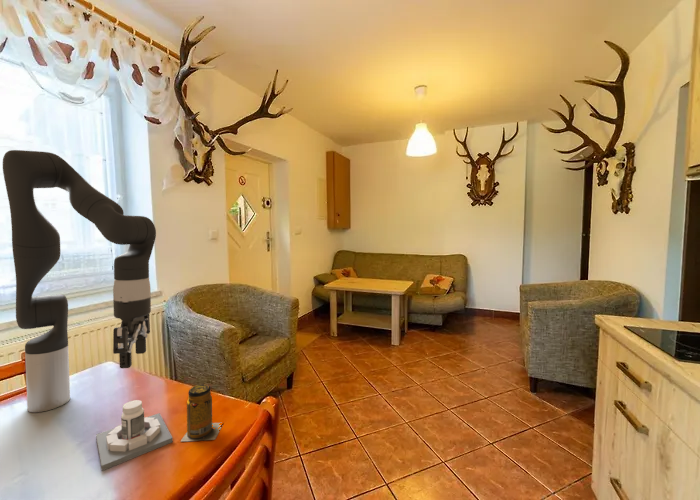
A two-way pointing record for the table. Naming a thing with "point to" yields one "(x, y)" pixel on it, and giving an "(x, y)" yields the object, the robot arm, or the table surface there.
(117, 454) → the socket board
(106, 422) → the table surface
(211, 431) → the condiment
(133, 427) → the pill bottle
